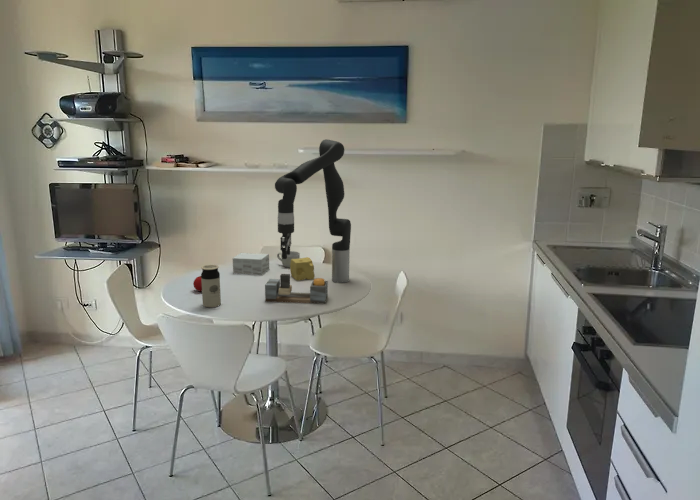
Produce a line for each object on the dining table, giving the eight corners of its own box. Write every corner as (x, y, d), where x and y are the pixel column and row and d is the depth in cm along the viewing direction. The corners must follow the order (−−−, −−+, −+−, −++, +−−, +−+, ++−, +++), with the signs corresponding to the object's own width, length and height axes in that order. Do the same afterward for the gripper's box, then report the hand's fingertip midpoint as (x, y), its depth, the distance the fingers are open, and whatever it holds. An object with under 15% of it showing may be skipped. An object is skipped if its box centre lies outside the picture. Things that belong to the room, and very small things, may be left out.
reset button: (314, 286, 245) (314, 277, 244) (324, 286, 244) (325, 278, 244) (313, 289, 240) (313, 281, 239) (323, 290, 240) (323, 281, 239)
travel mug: (202, 303, 237) (200, 265, 233) (219, 301, 240) (218, 263, 235) (203, 308, 230) (201, 269, 225) (221, 306, 232) (220, 268, 228)
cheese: (314, 279, 277) (314, 261, 274) (295, 281, 273) (295, 263, 270) (308, 274, 286) (308, 256, 284) (290, 276, 282) (289, 258, 280)
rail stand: (269, 294, 250) (269, 279, 248) (327, 296, 248) (327, 280, 246) (265, 301, 240) (264, 285, 238) (325, 303, 238) (325, 287, 237)
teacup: (303, 265, 303) (303, 252, 301) (292, 270, 294) (291, 256, 292) (285, 262, 310) (284, 249, 308) (273, 266, 301) (272, 252, 299)
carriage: (281, 289, 247) (281, 272, 245) (291, 290, 247) (291, 272, 245) (278, 294, 240) (278, 276, 238) (289, 294, 240) (289, 277, 238)
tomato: (216, 289, 256) (215, 274, 254) (202, 294, 249) (201, 278, 247) (203, 286, 261) (202, 271, 259) (189, 291, 253) (188, 275, 251)
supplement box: (269, 269, 295) (269, 253, 292) (262, 275, 282) (261, 259, 280) (241, 267, 297) (241, 252, 295) (232, 274, 285) (232, 257, 283)
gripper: (280, 219, 243) (281, 253, 247) (274, 224, 229) (275, 260, 233) (296, 219, 243) (296, 253, 246) (291, 225, 229) (291, 260, 232)
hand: (286, 256), depth 239 cm, fingers open, 8 cm apart
